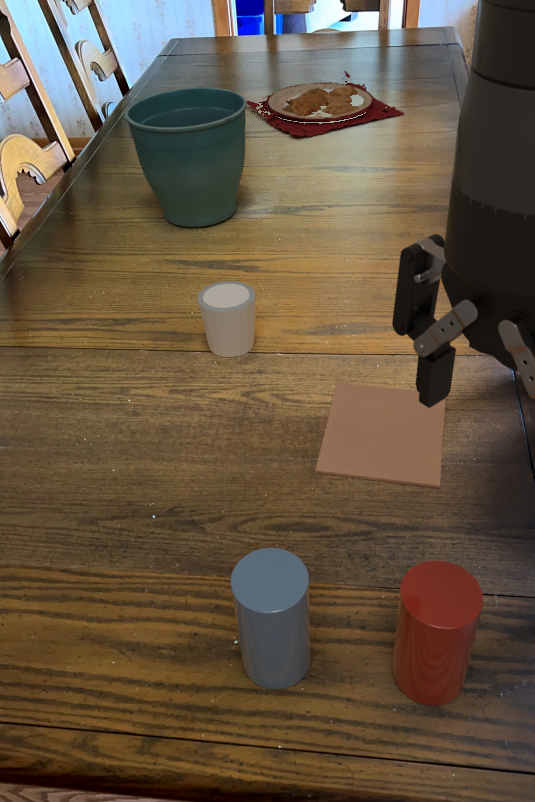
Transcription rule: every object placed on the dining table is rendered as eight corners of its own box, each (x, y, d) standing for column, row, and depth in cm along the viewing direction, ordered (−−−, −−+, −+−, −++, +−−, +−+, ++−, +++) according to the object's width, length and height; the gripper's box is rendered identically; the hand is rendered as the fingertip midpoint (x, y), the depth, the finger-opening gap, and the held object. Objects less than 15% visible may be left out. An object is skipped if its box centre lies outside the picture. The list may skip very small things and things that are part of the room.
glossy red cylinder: (465, 645, 55) (483, 566, 49) (464, 712, 51) (483, 635, 45) (395, 634, 56) (403, 554, 50) (388, 698, 52) (396, 621, 46)
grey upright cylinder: (317, 632, 57) (315, 553, 51) (304, 695, 53) (300, 618, 47) (251, 620, 58) (241, 542, 52) (234, 682, 54) (221, 605, 48)
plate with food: (243, 109, 156) (242, 93, 154) (345, 84, 164) (344, 68, 161) (294, 143, 140) (294, 126, 137) (404, 114, 147) (405, 96, 145)
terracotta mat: (445, 395, 78) (446, 392, 78) (439, 488, 68) (440, 485, 68) (336, 385, 81) (336, 382, 81) (315, 473, 70) (315, 470, 70)
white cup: (231, 367, 84) (226, 317, 80) (192, 346, 88) (184, 297, 84) (270, 341, 88) (267, 291, 84) (231, 321, 92) (226, 274, 87)
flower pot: (148, 246, 109) (128, 134, 98) (140, 198, 123) (121, 95, 112) (264, 228, 111) (256, 117, 100) (243, 183, 125) (235, 81, 114)
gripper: (739, 193, 30) (633, 468, 40) (468, 115, 39) (439, 356, 49) (638, 254, 26) (552, 537, 37) (367, 153, 35) (359, 403, 46)
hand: (487, 433), depth 43 cm, fingers open, 8 cm apart
